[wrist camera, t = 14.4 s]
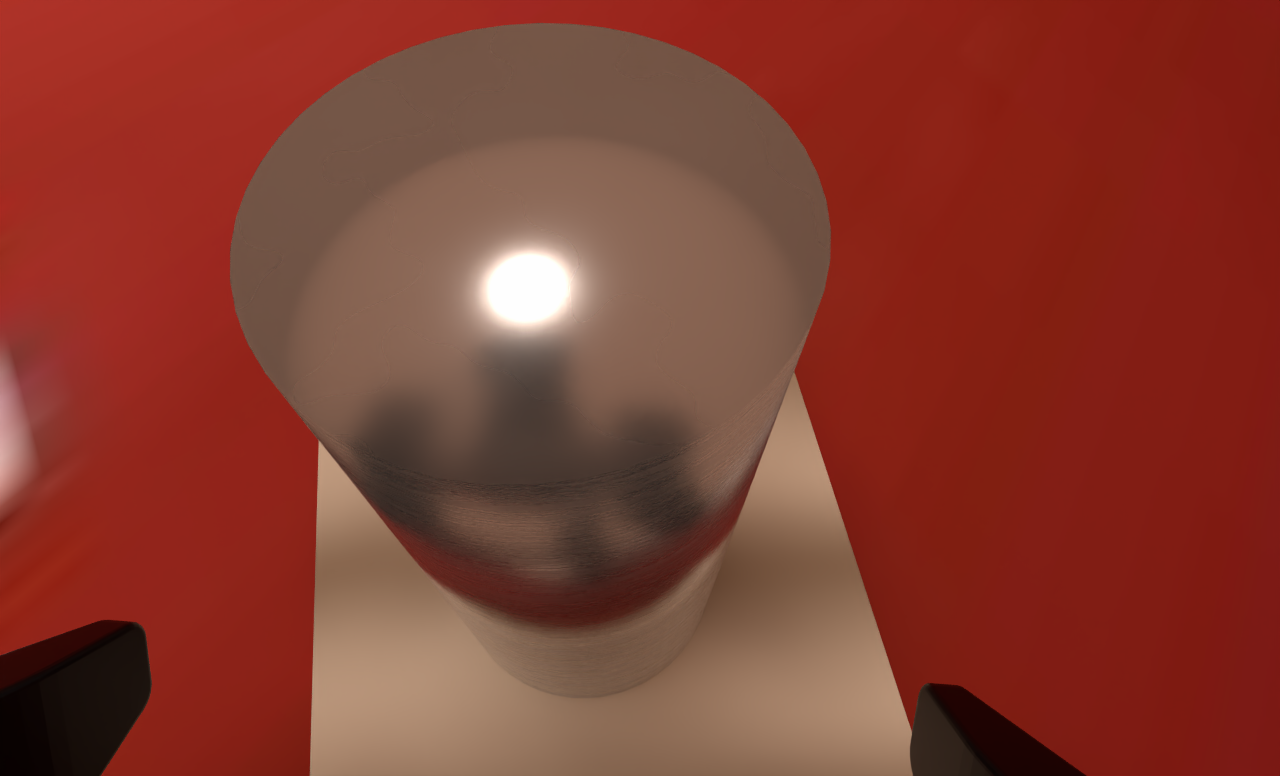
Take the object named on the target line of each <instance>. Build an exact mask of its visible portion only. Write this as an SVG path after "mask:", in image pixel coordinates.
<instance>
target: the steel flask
mask: <svg viewBox="0 0 1280 776" xmlns="http://www.w3.org/2000/svg"><path fill="white" fill-rule="evenodd" d="M830 239H831V229H830V222H829V216H828V209H827V202H826V199H825V196H824V192H823V189H822V186H821V183H820V180H819V177H818V174H817V172H816V170H815V168H814V166H813V164H812V162H811V160H810V158H809V156H808V154H807V152H806V150H805V148H804V147H803V145H802V144H801V142H800V141H799V140H798V138H797V137H796V135H795V134H794V132H793V131H792V130H791V128H790V127H789V125H788V124H787V123H786V122H785V121H784V120H783V119H782V118H781V117H780V115H779V114H778V113H777V112H776V111H775V110H774V109H773V108H772V107H771V106H770V105H769V104H768V103H767V102H766V101H765V100H764V99H763V98H761V97H760V96H759V95H758V94H757V93H755V92H754V91H753V90H752V89H751V88H749V87H748V86H747V85H746V84H744V83H743V82H741V81H740V80H738V79H737V78H735V77H734V76H732V75H731V74H729V73H728V72H726V71H725V70H723V69H722V68H720V67H718V66H716V65H714V64H712V63H710V62H708V61H706V60H705V59H703V58H701V57H699V56H697V55H695V54H693V53H690V52H688V51H685V50H683V49H680V48H678V47H675V46H673V45H670V44H667V43H665V42H662V41H658V40H655V39H651V38H648V37H645V36H641V35H638V34H634V33H629V32H624V31H619V30H614V29H609V28H603V27H594V26H585V25H576V24H549V23H535V24H518V25H504V26H497V27H490V28H483V29H476V30H471V31H467V32H462V33H458V34H454V35H449V36H445V37H441V38H438V39H435V40H432V41H429V42H426V43H422V44H419V45H416V46H413V47H410V48H408V49H405V50H403V51H401V52H398V53H396V54H394V55H391V56H389V57H387V58H384V59H382V60H380V61H378V62H376V63H374V64H372V65H370V66H369V67H367V68H365V69H363V70H361V71H359V72H358V73H356V74H354V75H352V76H350V77H349V78H347V79H346V80H345V81H343V82H342V83H340V84H339V85H337V86H336V87H334V88H333V89H331V90H330V91H328V92H327V93H325V94H324V95H323V96H322V97H321V98H319V99H318V100H317V101H316V102H315V103H313V104H312V105H311V106H310V107H309V108H307V109H306V110H305V111H304V112H303V113H302V114H300V115H299V117H298V118H297V119H296V120H295V121H294V122H293V123H292V124H291V125H290V126H289V127H288V128H287V129H286V130H285V131H284V133H283V134H282V135H281V136H280V137H279V138H278V139H277V141H276V142H275V144H274V145H273V146H272V148H271V149H270V150H269V152H268V153H267V155H266V156H265V157H264V159H263V160H262V161H261V163H260V165H259V167H258V168H257V170H256V172H255V174H254V176H253V178H252V180H251V182H250V183H249V185H248V187H247V189H246V191H245V194H244V197H243V200H242V203H241V206H240V208H239V211H238V214H237V217H236V221H235V226H234V232H233V237H232V243H231V249H230V282H231V288H232V293H233V299H234V304H235V310H236V314H237V316H238V319H239V322H240V324H241V327H242V330H243V332H244V335H245V338H246V340H247V343H248V345H249V346H250V348H251V350H252V351H253V353H254V355H255V357H256V358H257V360H258V362H259V363H260V365H261V367H262V368H263V370H264V372H265V373H266V374H267V376H268V377H269V378H270V379H271V381H272V382H273V383H274V385H275V386H276V387H277V388H278V390H279V391H280V392H281V393H282V395H283V396H284V397H285V398H286V400H287V401H288V402H289V403H290V405H291V406H292V407H293V408H294V410H295V411H296V412H297V413H298V415H299V416H300V417H301V419H302V420H303V421H304V422H305V424H306V425H307V426H308V427H309V429H310V430H311V431H312V432H313V434H314V435H315V436H316V437H317V439H318V440H319V441H320V442H321V444H322V445H323V446H324V447H325V449H326V450H327V451H328V452H329V454H330V455H331V456H332V458H333V459H334V460H335V461H336V463H337V464H338V465H339V466H340V468H341V469H342V470H343V471H344V473H345V474H346V475H347V476H348V478H349V479H350V480H351V481H352V483H353V484H354V485H355V486H356V488H357V489H358V490H359V491H360V493H361V494H362V495H363V497H364V498H365V499H366V500H367V502H368V503H369V504H370V505H371V507H372V508H373V509H374V510H375V512H376V513H377V514H378V515H379V517H380V518H381V519H382V520H383V522H384V523H385V524H386V525H387V527H388V528H389V529H390V531H391V532H392V533H393V534H394V536H395V537H396V538H397V539H398V541H399V542H400V543H401V544H402V546H403V547H404V548H405V549H406V551H407V552H408V553H409V554H410V556H411V557H412V558H413V559H414V561H415V562H416V563H417V564H418V566H419V567H420V568H421V570H422V571H423V572H424V573H425V575H426V576H427V577H428V578H429V580H430V581H431V582H432V583H433V585H434V586H435V587H436V588H437V590H438V591H439V592H440V593H441V595H442V596H443V597H444V598H445V600H446V601H447V602H448V603H449V605H450V606H451V607H452V609H453V610H454V611H455V612H456V614H457V615H458V616H459V617H460V619H461V620H462V621H463V622H464V624H465V625H466V626H467V627H468V629H469V630H470V631H471V632H472V634H473V635H474V636H475V637H476V639H477V640H478V641H479V643H480V644H481V645H482V646H483V648H484V649H485V650H486V651H487V652H488V654H489V655H490V656H491V657H492V658H493V659H494V661H495V662H496V663H497V664H498V665H499V666H501V667H502V668H503V669H504V670H505V671H506V672H507V673H509V674H510V675H511V676H513V677H515V678H516V679H518V680H519V681H521V682H522V683H524V684H526V685H528V686H530V687H532V688H535V689H537V690H539V691H542V692H546V693H549V694H552V695H556V696H562V697H569V698H596V697H604V696H610V695H613V694H617V693H621V692H624V691H627V690H629V689H631V688H634V687H636V686H638V685H641V684H642V683H644V682H646V681H647V680H649V679H651V678H652V677H654V676H656V675H657V674H658V673H660V672H661V671H662V670H663V669H665V668H666V667H667V666H668V665H669V664H670V663H671V662H672V661H673V660H674V659H675V658H676V657H677V656H678V655H679V654H680V653H681V652H682V650H683V649H684V648H685V646H686V645H687V643H688V642H689V641H690V639H691V638H692V636H693V634H694V632H695V630H696V628H697V627H698V625H699V623H700V620H701V617H702V615H703V612H704V609H705V607H706V604H707V601H708V599H709V596H710V593H711V591H712V588H713V585H714V583H715V580H716V577H717V575H718V572H719V569H720V567H721V564H722V561H723V559H724V556H725V553H726V551H727V548H728V545H729V543H730V540H731V538H732V535H733V532H734V530H735V527H736V524H737V522H738V519H739V516H740V514H741V511H742V508H743V506H744V503H745V500H746V498H747V495H748V492H749V490H750V487H751V484H752V482H753V479H754V476H755V474H756V471H757V468H758V466H759V463H760V460H761V458H762V455H763V452H764V450H765V447H766V444H767V442H768V439H769V436H770V434H771V431H772V428H773V426H774V423H775V420H776V418H777V415H778V412H779V410H780V407H781V404H782V402H783V399H784V396H785V394H786V391H787V388H788V386H789V383H790V380H791V378H792V375H793V373H794V370H795V367H796V365H797V362H798V359H799V357H800V354H801V351H802V349H803V346H804V343H805V341H806V338H807V335H808V333H809V330H810V327H811V325H812V322H813V319H814V317H815V314H816V311H817V309H818V306H819V303H820V301H821V298H822V295H823V293H824V289H825V284H826V278H827V273H828V268H829V263H830Z"/></svg>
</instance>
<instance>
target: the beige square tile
mask: <svg viewBox="0 0 1280 776" xmlns="http://www.w3.org/2000/svg"><path fill="white" fill-rule="evenodd" d="M911 736H912V731H911V728H910V725H909V722H908V719H907V716H906V713H905V710H904V707H903V704H902V701H901V698H900V695H899V692H898V689H897V685H896V682H895V679H894V676H893V673H892V670H891V667H890V664H889V661H888V658H887V655H886V652H885V649H884V646H883V643H882V640H881V636H880V633H879V630H878V627H877V624H876V621H875V618H874V615H873V612H872V609H871V606H870V603H869V600H868V597H867V594H866V590H865V587H864V584H863V581H862V578H861V575H860V572H859V569H858V566H857V563H856V560H855V557H854V554H853V551H852V548H851V545H850V541H849V538H848V535H847V532H846V529H845V526H844V523H843V520H842V517H841V514H840V511H839V508H838V505H837V502H836V499H835V495H834V492H833V489H832V486H831V483H830V480H829V477H828V474H827V471H826V468H825V465H824V462H823V459H822V456H821V453H820V450H819V446H818V443H817V440H816V437H815V434H814V431H813V428H812V425H811V422H810V419H809V416H808V413H807V410H806V407H805V404H804V401H803V397H802V394H801V391H800V388H799V385H798V382H797V379H796V376H795V373H793V375H792V378H791V380H790V383H789V386H788V388H787V391H786V394H785V396H784V399H783V402H782V404H781V407H780V410H779V412H778V415H777V418H776V420H775V423H774V426H773V428H772V431H771V434H770V436H769V439H768V442H767V444H766V447H765V450H764V452H763V455H762V458H761V460H760V463H759V466H758V468H757V471H756V474H755V476H754V479H753V482H752V484H751V487H750V490H749V492H748V495H747V498H746V500H745V503H744V506H743V508H742V511H741V514H740V516H739V519H738V522H737V524H736V527H735V530H734V532H733V535H732V538H731V540H730V543H729V545H728V548H727V551H726V553H725V556H724V559H723V561H722V564H721V567H720V569H719V572H718V575H717V577H716V580H715V583H714V585H713V588H712V591H711V593H710V596H709V599H708V601H707V604H706V607H705V609H704V612H703V615H702V617H701V620H700V623H699V625H698V627H697V628H696V630H695V632H694V634H693V636H692V638H691V639H690V641H689V642H688V643H687V645H686V646H685V648H684V649H683V650H682V652H681V653H680V654H679V655H678V656H677V657H676V658H675V659H674V660H673V661H672V662H671V663H670V664H669V665H668V666H667V667H666V668H665V669H663V670H662V671H661V672H660V673H658V674H657V675H656V676H654V677H652V678H651V679H649V680H647V681H646V682H644V683H642V684H641V685H638V686H636V687H634V688H631V689H629V690H627V691H624V692H621V693H617V694H613V695H610V696H604V697H596V698H569V697H562V696H556V695H552V694H549V693H546V692H542V691H539V690H537V689H535V688H532V687H530V686H528V685H526V684H524V683H522V682H521V681H519V680H518V679H516V678H515V677H513V676H511V675H510V674H509V673H507V672H506V671H505V670H504V669H503V668H502V667H501V666H499V665H498V664H497V663H496V662H495V661H494V659H493V658H492V657H491V656H490V655H489V654H488V652H487V651H486V650H485V649H484V648H483V646H482V645H481V644H480V643H479V641H478V640H477V639H476V637H475V636H474V635H473V634H472V632H471V631H470V630H469V629H468V627H467V626H466V625H465V624H464V622H463V621H462V620H461V619H460V617H459V616H458V615H457V614H456V612H455V611H454V610H453V609H452V607H451V606H450V605H449V603H448V602H447V601H446V600H445V598H444V597H443V596H442V595H441V593H440V592H439V591H438V590H437V588H436V587H435V586H434V585H433V583H432V582H431V581H430V580H429V578H428V577H427V576H426V575H425V573H424V572H423V571H422V570H421V568H420V567H419V566H418V564H417V563H416V562H415V561H414V559H413V558H412V557H411V556H410V554H409V553H408V552H407V551H406V549H405V548H404V547H403V546H402V544H401V543H400V542H399V541H398V539H397V538H396V537H395V536H394V534H393V533H392V532H391V531H390V529H389V528H388V527H387V525H386V524H385V523H384V522H383V520H382V519H381V518H380V517H379V515H378V514H377V513H376V512H375V510H374V509H373V508H372V507H371V505H370V504H369V503H368V502H367V500H366V499H365V498H364V497H363V495H362V494H361V493H360V491H359V490H358V489H357V488H356V486H355V485H354V484H353V483H352V481H351V480H350V479H349V478H348V476H347V475H346V474H345V473H344V471H343V470H342V469H341V468H340V466H339V465H338V464H337V463H336V461H335V460H334V459H333V458H332V456H331V455H330V454H329V452H328V451H327V450H326V449H325V447H324V446H323V445H322V444H321V442H320V441H319V458H318V495H317V532H316V569H315V606H314V643H313V680H312V718H311V755H310V776H913V773H912V769H911V763H910V742H911Z"/></svg>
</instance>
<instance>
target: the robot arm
mask: <svg viewBox="0 0 1280 776" xmlns="http://www.w3.org/2000/svg"><path fill="white" fill-rule="evenodd" d="M151 686H152V680H151V672H150V664H149V656H148V648H147V640H146V634H145V631H144V629H143V627H142V626H141V625H140V624H138V623H136V622H128V621H115V620H101V621H97V622H95V623H92V624H89V625H86V626H83V627H80V628H77V629H75V630H72V631H69V632H66V633H63V634H60V635H57V636H54V637H52V638H49V639H46V640H43V641H40V642H37V643H34V644H32V645H29V646H26V647H23V648H20V649H17V650H14V651H11V652H9V653H6V654H3V655H0V776H101V774H102V773H103V771H104V770H105V768H106V767H107V765H108V764H109V762H110V761H111V759H112V758H113V756H114V754H115V753H116V751H117V750H118V748H119V747H120V745H121V744H122V742H123V741H124V739H125V737H126V736H127V734H128V733H129V731H130V730H131V728H132V727H133V725H134V724H135V722H136V720H137V719H138V717H139V716H140V714H141V713H142V711H143V710H144V708H145V706H146V704H147V702H148V700H149V697H150V693H151ZM910 763H911V769H912V773H913V776H1086V775H1085V774H1083V773H1082V772H1080V771H1079V770H1078V769H1076V768H1075V767H1073V766H1072V765H1071V764H1069V763H1068V762H1066V761H1065V760H1064V759H1062V758H1061V757H1059V756H1058V755H1057V754H1055V753H1054V752H1052V751H1051V750H1050V749H1048V748H1047V747H1046V746H1044V745H1043V744H1041V743H1040V742H1039V741H1037V740H1036V739H1034V738H1033V737H1032V736H1030V735H1029V734H1027V733H1026V732H1025V731H1023V730H1022V729H1020V728H1019V727H1018V726H1016V725H1015V724H1013V723H1012V722H1011V721H1009V720H1008V719H1006V718H1005V717H1004V716H1002V715H1001V714H999V713H998V712H997V711H995V710H994V709H992V708H991V707H990V706H988V705H987V704H985V703H984V702H983V701H981V700H980V699H979V698H977V697H976V696H974V695H973V694H972V693H970V692H969V691H967V690H966V689H964V688H963V687H961V686H958V685H948V684H934V683H927V684H925V685H924V686H923V687H922V688H921V690H920V692H919V696H918V701H917V707H916V713H915V719H914V724H913V730H912V736H911V742H910Z"/></svg>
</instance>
